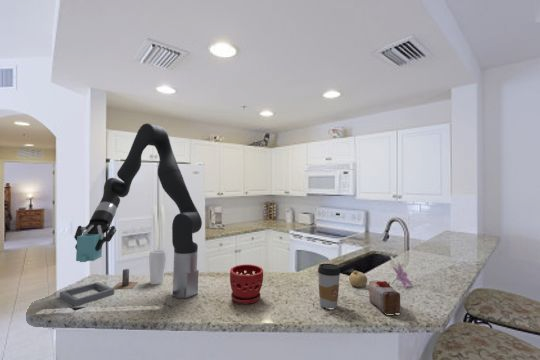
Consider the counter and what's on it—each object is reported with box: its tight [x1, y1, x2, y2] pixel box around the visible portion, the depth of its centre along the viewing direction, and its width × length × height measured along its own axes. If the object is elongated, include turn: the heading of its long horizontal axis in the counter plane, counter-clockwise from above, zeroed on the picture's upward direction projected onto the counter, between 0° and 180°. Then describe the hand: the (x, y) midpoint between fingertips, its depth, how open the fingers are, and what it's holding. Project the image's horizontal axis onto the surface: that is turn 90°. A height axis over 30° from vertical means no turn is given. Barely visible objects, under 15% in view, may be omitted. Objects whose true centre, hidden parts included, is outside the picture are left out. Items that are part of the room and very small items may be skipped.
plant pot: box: [229, 264, 264, 305], centre depth 104 cm, size 13×13×12 cm
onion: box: [348, 270, 368, 288], centre depth 122 cm, size 8×8×7 cm
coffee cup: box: [317, 263, 341, 309], centre depth 100 cm, size 8×8×15 cm
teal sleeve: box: [75, 234, 103, 263], centre depth 100 cm, size 6×8×9 cm
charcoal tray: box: [59, 281, 115, 312], centre depth 100 cm, size 13×13×4 cm
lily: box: [391, 262, 414, 290], centre depth 123 cm, size 12×12×10 cm
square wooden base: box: [112, 268, 139, 290], centre depth 112 cm, size 8×8×8 cm
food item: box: [368, 279, 401, 314], centre depth 100 cm, size 14×8×10 cm, turn 5°
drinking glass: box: [148, 249, 167, 285], centre depth 117 cm, size 7×7×15 cm
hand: (87, 249), depth 99 cm, fingers closed on teal sleeve, 6 cm apart
